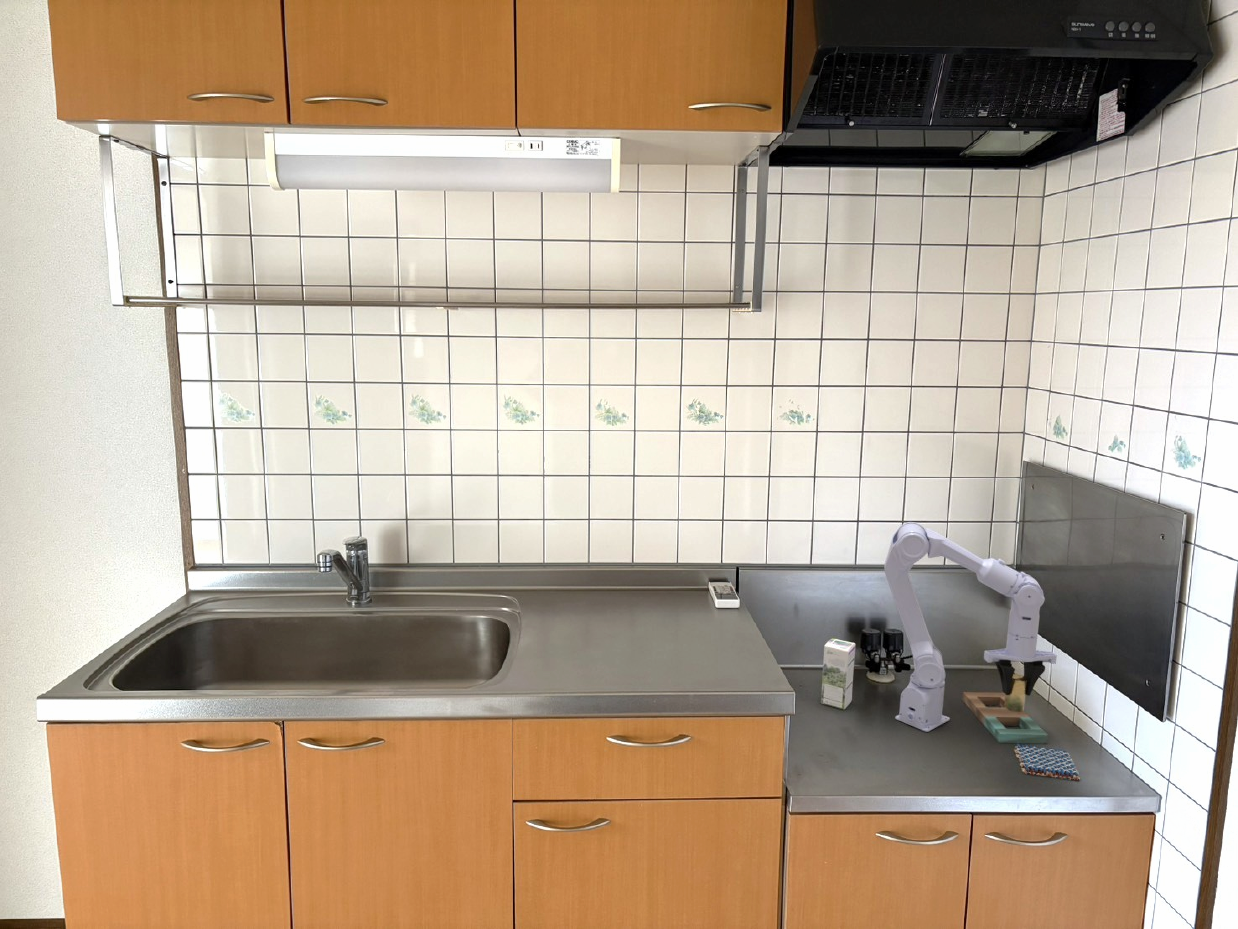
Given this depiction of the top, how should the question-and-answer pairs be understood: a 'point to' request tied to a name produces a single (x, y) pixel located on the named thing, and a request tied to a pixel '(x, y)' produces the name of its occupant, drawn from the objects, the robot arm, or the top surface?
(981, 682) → the top surface
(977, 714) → the docking plate
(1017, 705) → the brass pin
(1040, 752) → the woven mat
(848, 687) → the syrup box
